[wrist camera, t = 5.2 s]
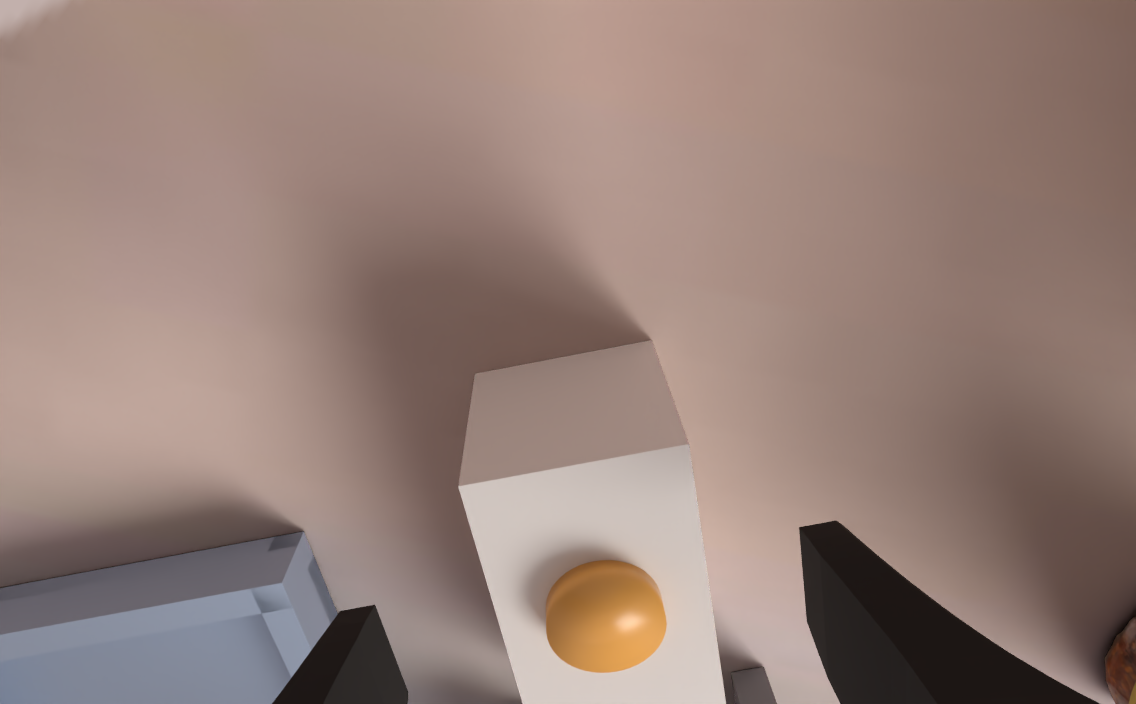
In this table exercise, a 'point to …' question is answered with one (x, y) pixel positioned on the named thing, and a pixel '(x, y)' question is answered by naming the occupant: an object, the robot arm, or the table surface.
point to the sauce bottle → (1122, 665)
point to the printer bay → (752, 687)
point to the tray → (167, 628)
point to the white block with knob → (591, 531)
